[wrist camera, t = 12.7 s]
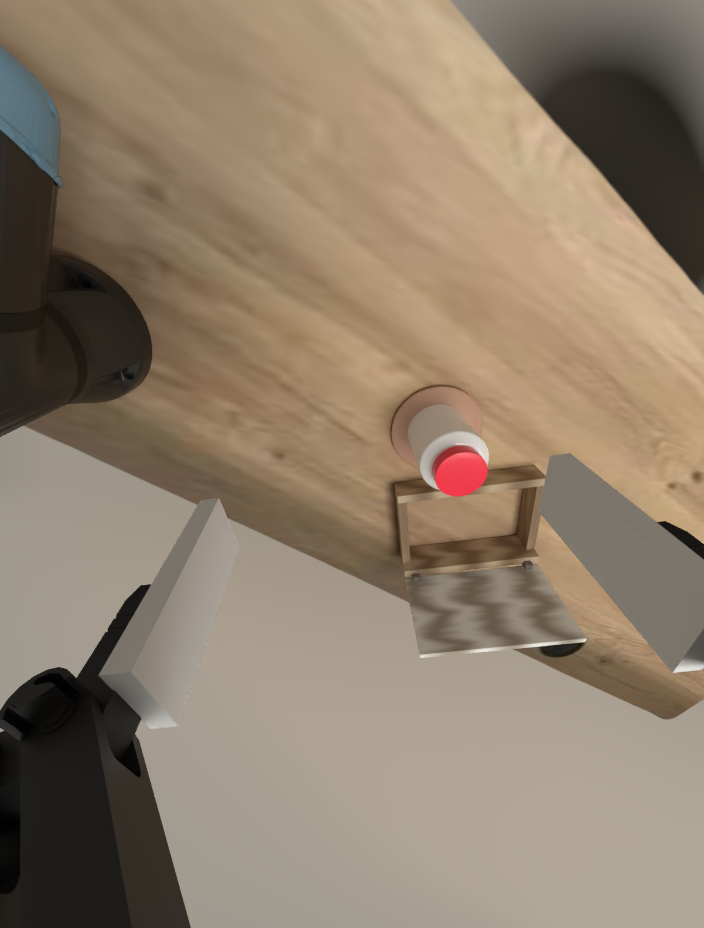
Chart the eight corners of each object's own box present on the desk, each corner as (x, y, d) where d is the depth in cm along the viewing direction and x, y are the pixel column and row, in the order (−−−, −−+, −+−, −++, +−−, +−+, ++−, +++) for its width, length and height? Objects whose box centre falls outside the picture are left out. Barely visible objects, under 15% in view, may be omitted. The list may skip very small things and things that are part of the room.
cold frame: (400, 558, 57) (420, 657, 42) (394, 482, 49) (415, 572, 34) (521, 544, 56) (585, 641, 41) (534, 465, 48) (618, 550, 33)
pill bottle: (409, 460, 46) (425, 509, 37) (405, 408, 43) (422, 448, 33) (465, 452, 46) (496, 499, 36) (466, 399, 42) (501, 436, 33)
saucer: (394, 472, 48) (395, 475, 48) (387, 392, 42) (388, 394, 42) (478, 461, 48) (480, 464, 47) (483, 379, 42) (485, 381, 41)
